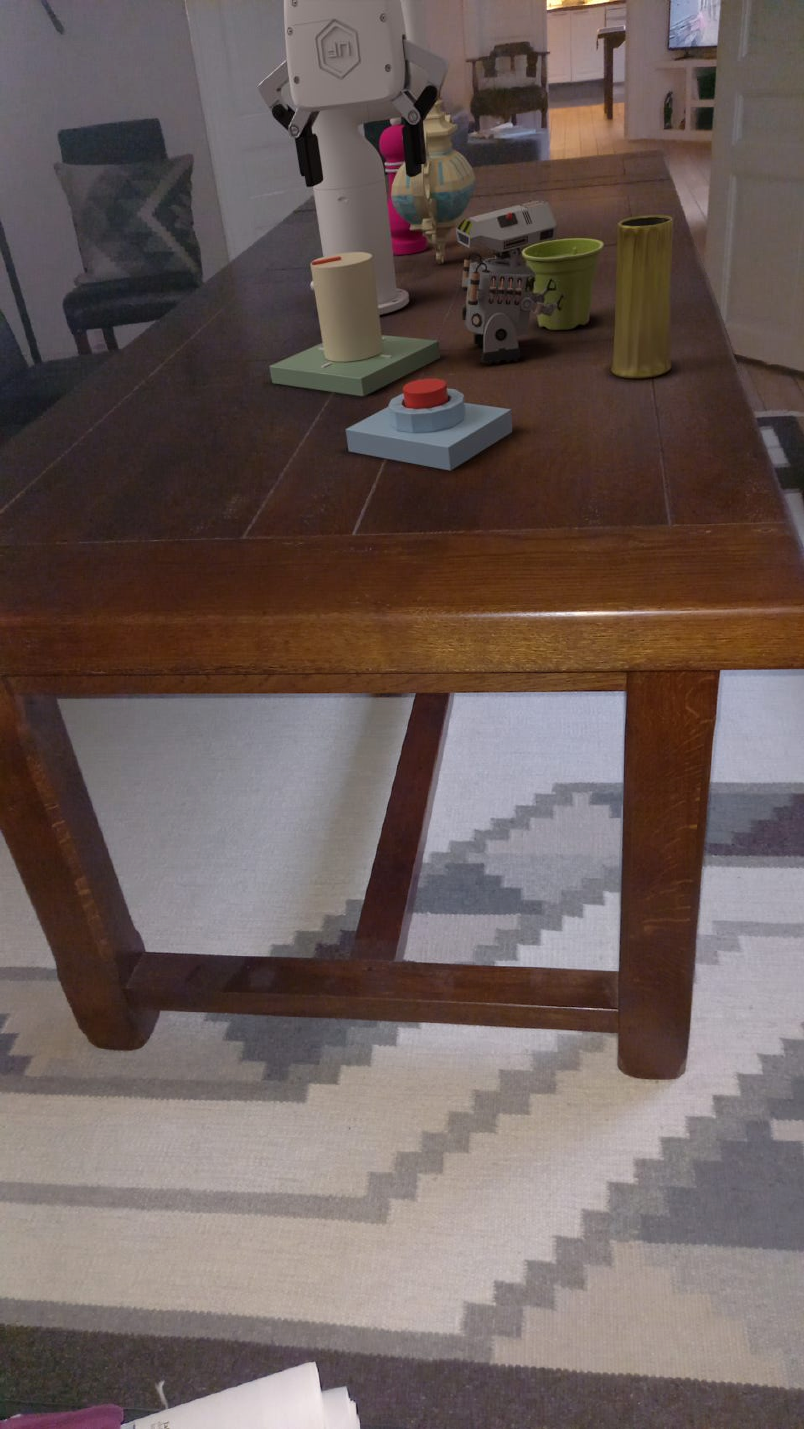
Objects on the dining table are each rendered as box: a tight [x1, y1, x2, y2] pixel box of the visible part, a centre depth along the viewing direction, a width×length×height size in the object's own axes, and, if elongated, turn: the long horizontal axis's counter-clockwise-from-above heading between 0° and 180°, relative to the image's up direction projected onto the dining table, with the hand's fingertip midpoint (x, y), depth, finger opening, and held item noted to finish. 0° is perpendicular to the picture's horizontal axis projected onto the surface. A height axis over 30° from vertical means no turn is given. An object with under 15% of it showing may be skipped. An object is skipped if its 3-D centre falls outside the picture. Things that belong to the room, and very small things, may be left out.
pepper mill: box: [378, 117, 428, 256], centre depth 160 cm, size 7×7×20 cm
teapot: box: [391, 43, 476, 264], centre depth 147 cm, size 24×12×30 cm, turn 166°
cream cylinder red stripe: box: [310, 252, 383, 362], centre depth 110 cm, size 7×7×10 cm
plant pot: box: [521, 237, 604, 331], centre depth 117 cm, size 9×9×9 cm
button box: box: [345, 387, 513, 471], centre depth 92 cm, size 12×10×4 cm
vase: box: [610, 214, 674, 380], centre depth 99 cm, size 6×6×14 cm
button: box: [402, 378, 448, 409], centre depth 90 cm, size 4×4×2 cm
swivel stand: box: [269, 334, 441, 397], centre depth 113 cm, size 14×14×2 cm
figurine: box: [455, 199, 564, 366], centre depth 109 cm, size 9×12×15 cm
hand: (364, 179), depth 90 cm, fingers open, 9 cm apart
